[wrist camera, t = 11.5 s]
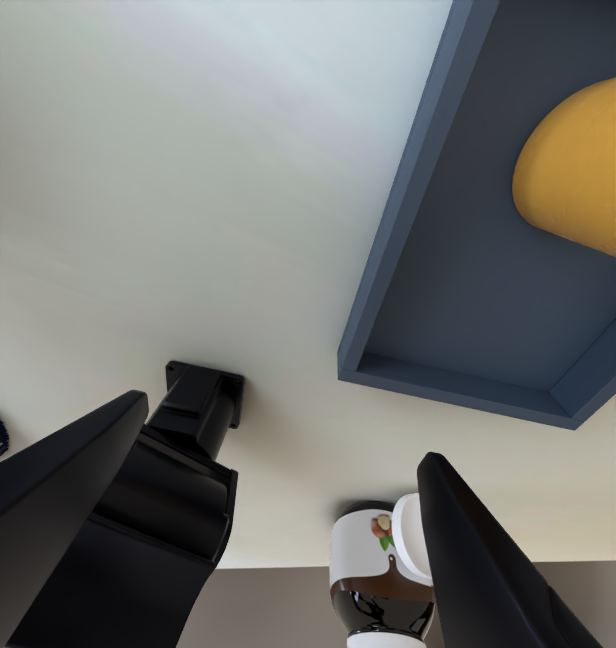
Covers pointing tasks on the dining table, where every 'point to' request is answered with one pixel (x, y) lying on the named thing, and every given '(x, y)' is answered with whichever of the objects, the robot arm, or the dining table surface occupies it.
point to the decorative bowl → (3, 439)
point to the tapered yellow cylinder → (573, 170)
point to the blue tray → (489, 231)
